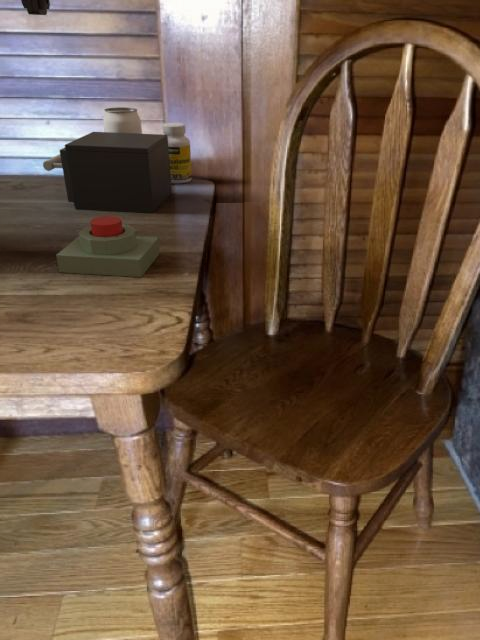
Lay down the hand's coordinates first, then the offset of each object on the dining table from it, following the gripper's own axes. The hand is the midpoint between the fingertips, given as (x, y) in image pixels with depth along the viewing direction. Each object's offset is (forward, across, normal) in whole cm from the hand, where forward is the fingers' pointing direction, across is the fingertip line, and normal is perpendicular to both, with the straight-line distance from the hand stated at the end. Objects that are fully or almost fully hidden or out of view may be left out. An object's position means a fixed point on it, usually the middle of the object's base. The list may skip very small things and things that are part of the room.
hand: (37, 14), depth 69 cm
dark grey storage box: (+26, -3, -14) cm, 30 cm away
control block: (+26, -10, +13) cm, 31 cm away
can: (+26, +1, -28) cm, 38 cm away
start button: (+22, -10, +13) cm, 28 cm away
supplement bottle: (+26, -8, -29) cm, 40 cm away
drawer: (+25, +1, -14) cm, 29 cm away
